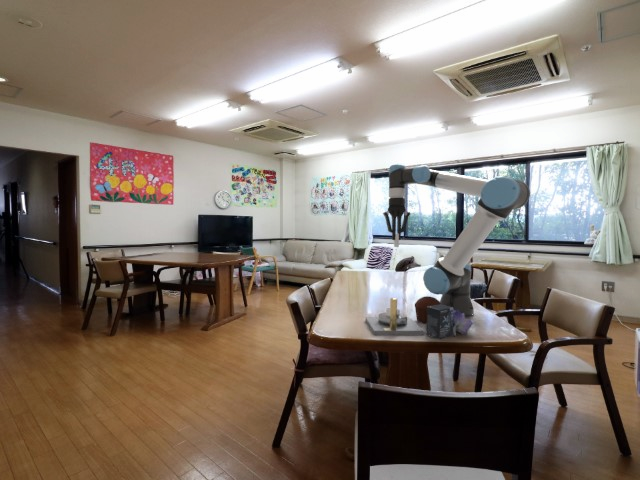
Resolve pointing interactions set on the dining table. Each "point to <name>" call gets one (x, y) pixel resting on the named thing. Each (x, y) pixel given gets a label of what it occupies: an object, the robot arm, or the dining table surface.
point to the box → (439, 321)
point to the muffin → (424, 308)
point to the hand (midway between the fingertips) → (396, 246)
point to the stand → (385, 329)
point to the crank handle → (392, 316)
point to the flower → (460, 323)
